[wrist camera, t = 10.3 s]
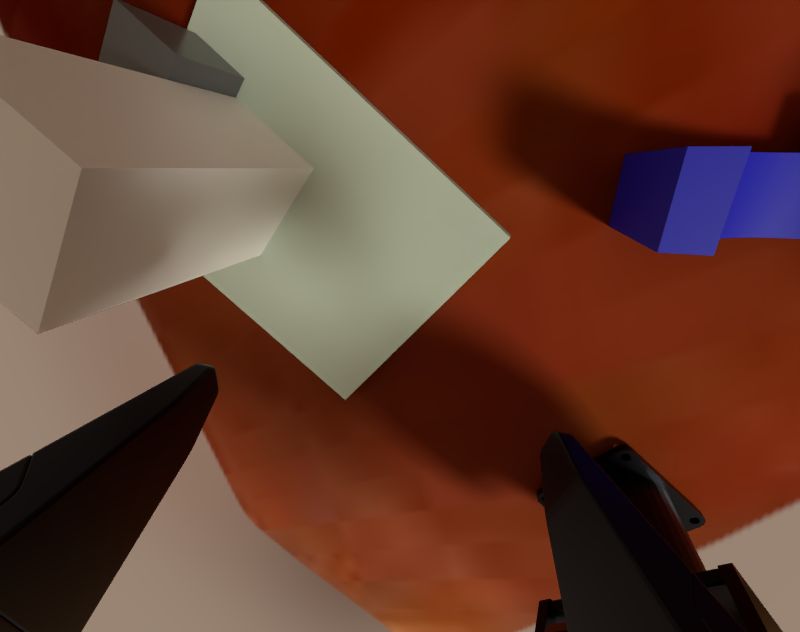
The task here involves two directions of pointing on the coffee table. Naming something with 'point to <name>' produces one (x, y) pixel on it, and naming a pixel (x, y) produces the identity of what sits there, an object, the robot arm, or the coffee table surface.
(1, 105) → the plug housing
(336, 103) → the board
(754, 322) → the coffee table surface
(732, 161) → the cable clip
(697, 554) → the robot arm
